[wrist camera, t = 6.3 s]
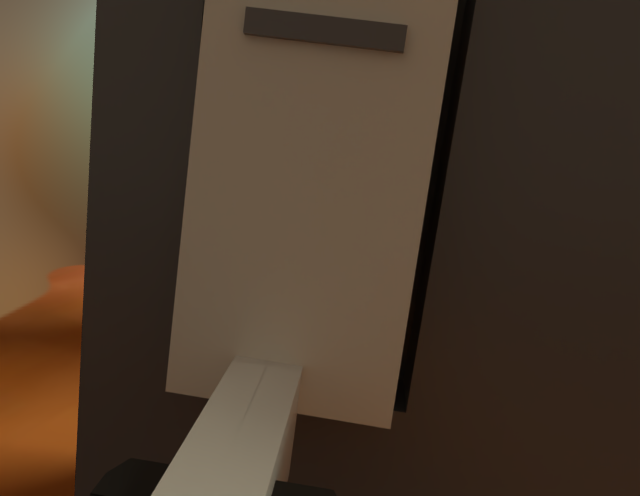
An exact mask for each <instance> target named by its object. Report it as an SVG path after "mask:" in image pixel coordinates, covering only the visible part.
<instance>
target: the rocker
mask: <svg viewBox="0 0 640 496" xmlns="http://www.w3.org/2000/svg"><path fill="white" fill-rule="evenodd" d="M457 5H458V0H205V4H204V14H203V24H202V34H201V43H200V53H199V63H198V73H197V83H196V93H195V103H194V113H193V123H192V133H191V142H190V152H189V162H188V172H187V182H186V192H185V202H184V212H183V222H182V232H181V241H180V251H179V261H178V271H177V281H176V291H175V301H174V311H173V321H172V331H171V341H170V350H169V360H168V370H167V380H166V390H165V391H166V392H172V393H178V394H184V395H190V396H196V397H202V398H208V399H210V397H211V395H212V394H213V392H214V391H215V389H216V387H217V386H218V384H219V382H220V381H221V379H222V377H223V376H224V374H225V372H226V371H227V369H228V367H229V366H230V364H231V362H232V361H233V359H234V357H235V356H242V357H249V358H255V359H261V360H267V361H273V362H279V363H285V364H291V365H297V366H303V370H302V377H301V384H300V392H299V399H298V406H297V414H303V415H309V416H315V417H321V418H327V419H333V420H339V421H345V422H351V423H357V424H363V425H369V426H375V427H380V428H386V429H390V428H391V422H392V415H393V409H394V403H395V396H396V390H397V384H398V377H399V371H400V365H401V359H402V352H403V346H404V340H405V333H406V327H407V321H408V314H409V308H410V302H411V295H412V289H413V283H414V277H415V270H416V264H417V258H418V251H419V245H420V239H421V232H422V226H423V220H424V214H425V207H426V201H427V195H428V188H429V182H430V176H431V169H432V163H433V157H434V150H435V144H436V138H437V132H438V125H439V119H440V113H441V106H442V100H443V94H444V87H445V81H446V75H447V69H448V62H449V56H450V50H451V43H452V37H453V31H454V24H455V18H456V12H457Z"/></svg>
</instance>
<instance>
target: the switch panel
mask: <svg viewBox="0 0 640 496" xmlns="http://www.w3.org/2000/svg"><path fill="white" fill-rule="evenodd" d="M204 4H205V0H97V9H96V29H95V53H94V74H93V96H92V118H91V141H90V163H89V185H88V186H89V187H88V208H87V230H86V253H85V274H84V297H83V319H82V341H81V363H80V386H79V408H78V430H77V452H76V475H75V496H90V493H91V491H92V490H93V489H94V488H95V486H96V485H97V484H98V482H99V481H100V480H101V479H102V477H103V476H104V475H105V473H107V472H108V471H110V470H111V469H113V468H115V467H116V466H118V465H120V464H121V463H123V462H125V461H126V460H128V459H130V458H135V459H141V460H147V461H153V462H159V463H165V464H170V463H171V462H172V460H173V458H174V457H175V455H176V453H177V452H178V450H179V448H180V447H181V445H182V443H183V442H184V440H185V438H186V437H187V435H188V434H189V432H190V430H191V429H192V427H193V425H194V424H195V422H196V420H197V419H198V417H199V415H200V414H201V412H202V410H203V409H204V407H205V405H206V404H207V402H208V400H209V399H208V398H202V397H196V396H190V395H184V394H178V393H172V392H166V391H165V390H166V380H167V370H168V360H169V350H170V341H171V331H172V321H173V311H174V301H175V291H176V281H177V271H178V261H179V251H180V241H181V232H182V222H183V212H184V202H185V192H186V182H187V172H188V162H189V152H190V142H191V133H192V123H193V113H194V103H195V93H196V83H197V73H198V63H199V53H200V43H201V34H202V24H203V14H204ZM287 482H290V483H296V484H302V485H308V486H314V487H320V488H326V489H332V490H334V492H335V494H336V496H640V0H458V5H457V12H456V18H455V24H454V31H453V37H452V43H451V50H450V56H449V62H448V69H447V75H446V81H445V87H444V94H443V100H442V106H441V113H440V119H439V125H438V132H437V138H436V144H435V150H434V157H433V163H432V169H431V176H430V182H429V188H428V195H427V201H426V207H425V214H424V220H423V226H422V232H421V239H420V245H419V251H418V258H417V264H416V270H415V277H414V283H413V289H412V295H411V302H410V308H409V314H408V321H407V327H406V333H405V340H404V346H403V352H402V359H401V365H400V371H399V377H398V384H397V390H396V396H395V403H394V409H393V415H392V422H391V428H390V429H386V428H380V427H375V426H369V425H363V424H357V423H351V422H345V421H339V420H333V419H327V418H321V417H315V416H309V415H303V414H297V418H296V426H295V433H294V441H293V448H292V456H291V464H290V471H289V477H288V481H287Z"/></svg>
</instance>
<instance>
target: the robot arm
mask: <svg viewBox="0 0 640 496" xmlns="http://www.w3.org/2000/svg"><path fill="white" fill-rule="evenodd" d="M302 370H303V366H297V365H291V364H285V363H279V362H273V361H267V360H261V359H255V358H249V357H242V356H235V357H234V359H233V361H232V362H231V364H230V366H229V367H228V369H227V371H226V372H225V374H224V376H223V377H222V379H221V381H220V382H219V384H218V386H217V387H216V389H215V391H214V392H213V394H212V395H211V397H210V399H209V400H208V402H207V404H206V405H205V407H204V409H203V410H202V412H201V414H200V415H199V417H198V419H197V420H196V422H195V424H194V425H193V427H192V429H191V430H190V432H189V434H188V435H187V437H186V438H185V440H184V442H183V443H182V445H181V447H180V448H179V450H178V452H177V453H176V455H175V457H174V458H173V460H172V462H171V463H170V464H165V463H159V462H153V461H147V460H141V459H135V458H130V459H128V460H126V461H125V462H123V463H121V464H120V465H118V466H116V467H115V468H113V469H111V470H110V471H108V472H107V473H105V475H104V476H103V477H102V479H101V480H100V481H99V482H98V484H97V485H96V486H95V488H94V489H93V490H92V491H91V493H90V496H336V494H335V492H334V490H332V489H326V488H320V487H314V486H308V485H302V484H296V483H290V482H287V481H288V477H289V471H290V464H291V456H292V448H293V441H294V433H295V426H296V418H297V406H298V399H299V392H300V384H301V377H302Z"/></svg>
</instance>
